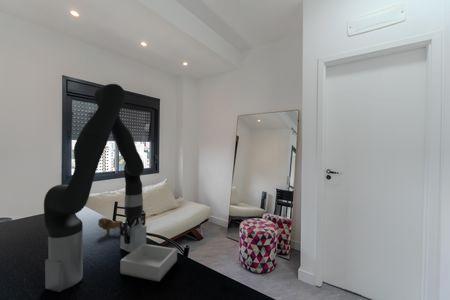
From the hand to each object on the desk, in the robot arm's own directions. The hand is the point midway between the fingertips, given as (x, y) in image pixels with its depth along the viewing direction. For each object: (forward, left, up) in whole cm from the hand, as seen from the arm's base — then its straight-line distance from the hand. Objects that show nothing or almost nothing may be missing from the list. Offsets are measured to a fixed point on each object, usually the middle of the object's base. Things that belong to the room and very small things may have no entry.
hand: (133, 239), depth 92 cm
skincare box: (0, 0, -4) cm, 4 cm away
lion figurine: (+10, +20, -4) cm, 23 cm away
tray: (-10, -15, -4) cm, 19 cm away
